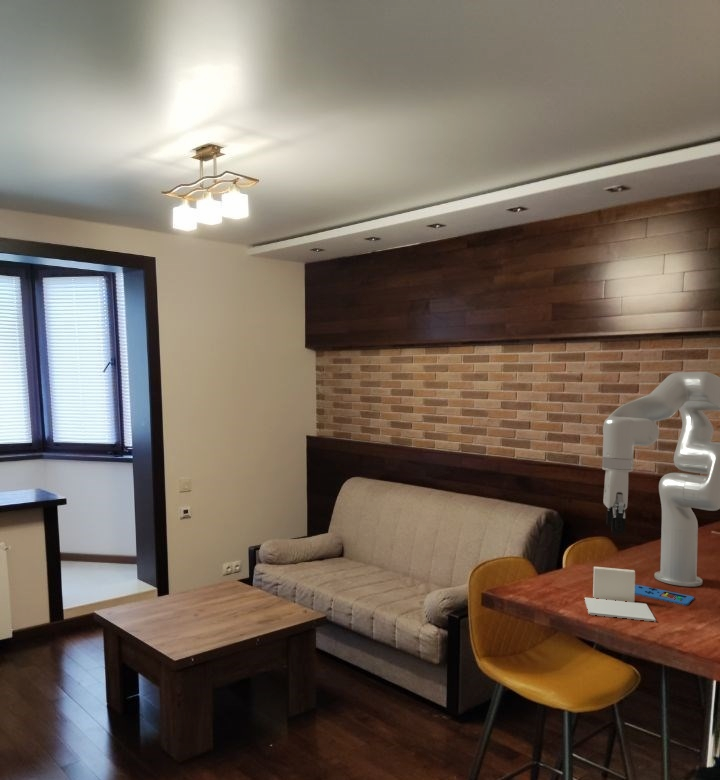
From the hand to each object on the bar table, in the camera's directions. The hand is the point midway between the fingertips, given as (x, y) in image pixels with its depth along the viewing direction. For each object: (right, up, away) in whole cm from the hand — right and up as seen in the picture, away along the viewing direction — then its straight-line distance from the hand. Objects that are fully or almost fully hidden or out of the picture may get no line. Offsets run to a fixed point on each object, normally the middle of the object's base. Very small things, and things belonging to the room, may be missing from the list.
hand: (615, 529), depth 166 cm
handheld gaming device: (+14, -20, +5) cm, 24 cm away
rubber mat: (-3, -18, -9) cm, 20 cm away
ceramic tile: (-1, -19, 0) cm, 19 cm away
